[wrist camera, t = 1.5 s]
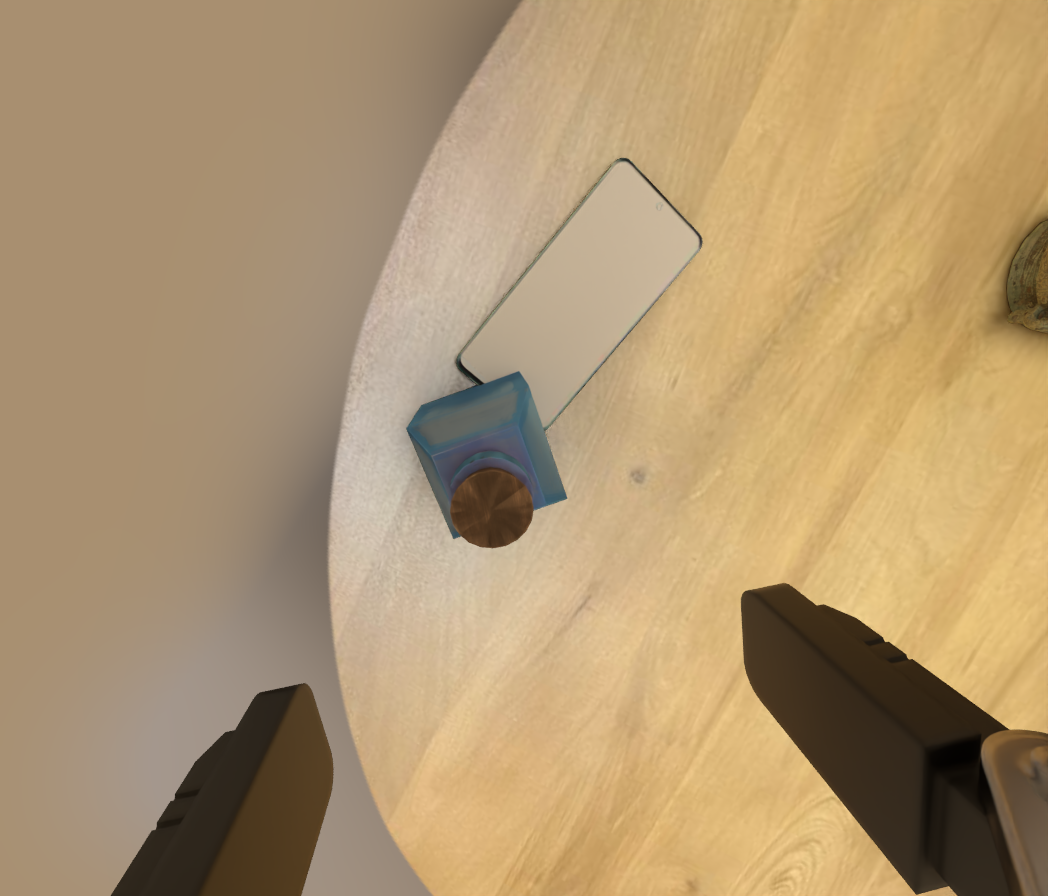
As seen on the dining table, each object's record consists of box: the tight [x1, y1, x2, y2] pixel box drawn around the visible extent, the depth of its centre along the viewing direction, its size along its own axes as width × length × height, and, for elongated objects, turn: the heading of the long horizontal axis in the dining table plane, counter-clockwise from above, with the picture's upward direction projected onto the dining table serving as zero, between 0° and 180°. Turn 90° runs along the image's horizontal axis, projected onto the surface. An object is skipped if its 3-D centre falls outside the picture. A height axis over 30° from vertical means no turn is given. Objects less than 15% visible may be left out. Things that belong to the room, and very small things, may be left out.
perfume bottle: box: [406, 371, 567, 548], centre depth 24 cm, size 6×6×12 cm
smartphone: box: [456, 158, 702, 431], centre depth 28 cm, size 7×1×15 cm
